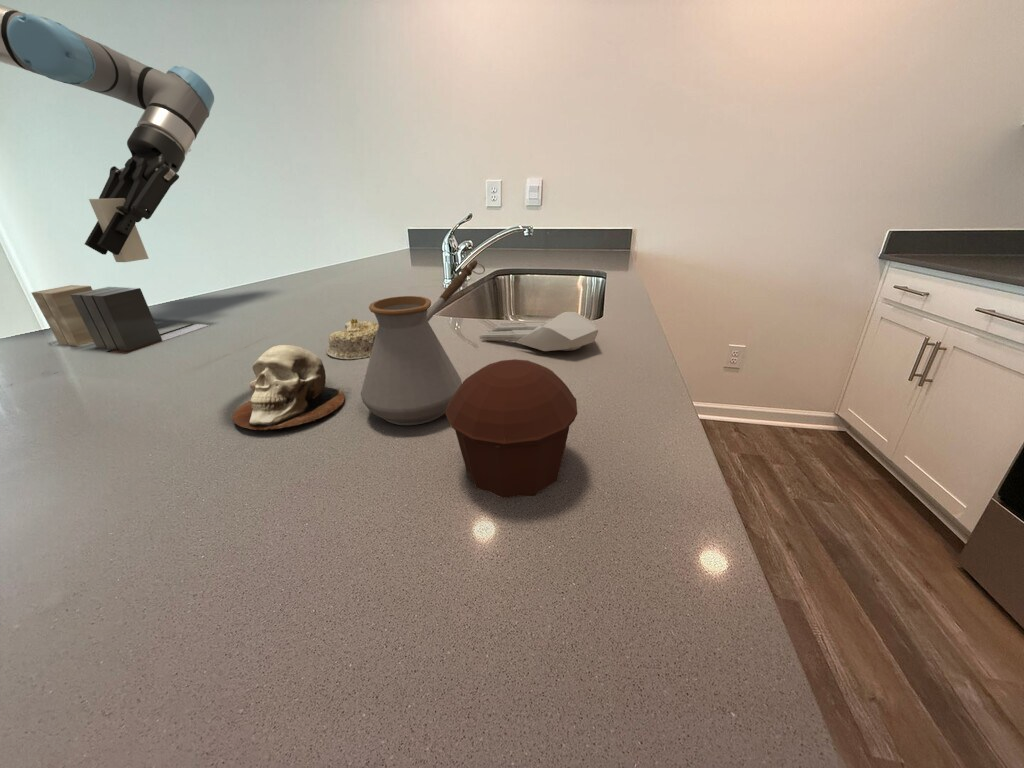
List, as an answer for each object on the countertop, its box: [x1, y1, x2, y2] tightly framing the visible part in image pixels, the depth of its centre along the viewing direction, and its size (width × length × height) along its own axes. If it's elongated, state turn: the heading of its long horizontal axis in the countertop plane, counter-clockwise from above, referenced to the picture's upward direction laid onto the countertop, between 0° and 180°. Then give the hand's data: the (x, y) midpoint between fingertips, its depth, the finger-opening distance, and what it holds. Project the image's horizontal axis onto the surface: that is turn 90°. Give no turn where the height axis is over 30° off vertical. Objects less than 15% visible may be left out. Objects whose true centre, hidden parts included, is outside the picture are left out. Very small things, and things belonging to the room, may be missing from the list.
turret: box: [478, 311, 599, 352], centre depth 67 cm, size 10×20×5 cm, turn 61°
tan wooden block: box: [31, 284, 94, 347], centre depth 73 cm, size 8×15×10 cm, turn 165°
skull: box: [231, 344, 346, 431], centre depth 49 cm, size 12×10×10 cm
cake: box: [325, 318, 379, 360], centre depth 66 cm, size 10×10×5 cm
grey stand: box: [71, 286, 211, 355], centre depth 70 cm, size 8×15×10 cm, turn 166°
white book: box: [88, 198, 149, 263], centre depth 70 cm, size 2×4×10 cm, turn 165°
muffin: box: [444, 358, 578, 499], centre depth 36 cm, size 12×11×10 cm
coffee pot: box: [360, 259, 486, 426], centre depth 49 cm, size 21×12×15 cm, turn 151°
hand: (101, 249), depth 68 cm, fingers closed on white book, 2 cm apart
